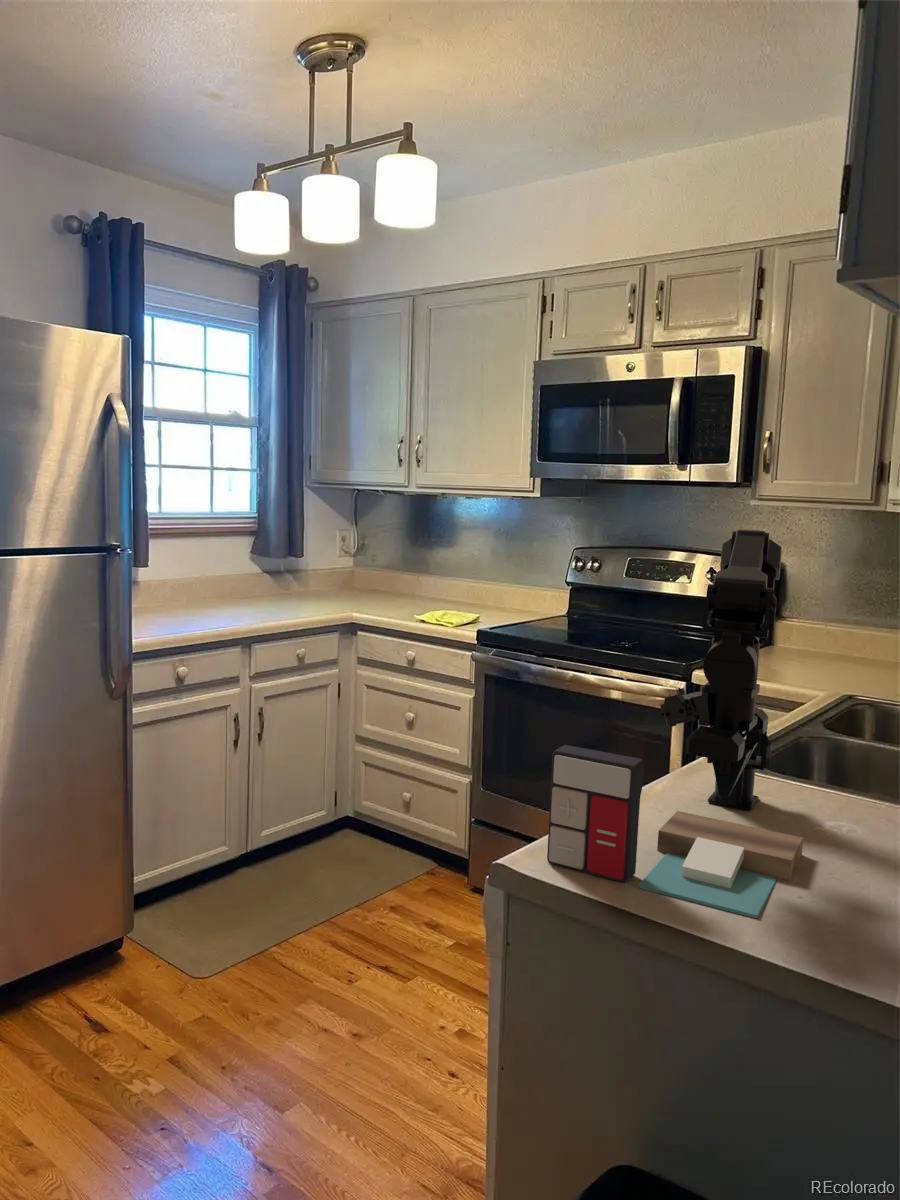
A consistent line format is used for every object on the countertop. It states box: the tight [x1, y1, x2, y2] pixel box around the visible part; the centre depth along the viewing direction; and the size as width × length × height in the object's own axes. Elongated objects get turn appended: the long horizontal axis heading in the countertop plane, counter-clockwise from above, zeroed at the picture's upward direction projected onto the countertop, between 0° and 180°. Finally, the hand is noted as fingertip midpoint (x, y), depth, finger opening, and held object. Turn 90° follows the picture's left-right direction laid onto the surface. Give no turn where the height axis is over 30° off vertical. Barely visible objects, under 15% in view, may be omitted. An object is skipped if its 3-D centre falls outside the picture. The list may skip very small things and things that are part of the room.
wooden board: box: [656, 810, 804, 882], centre depth 120 cm, size 9×17×3 cm, turn 60°
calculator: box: [546, 744, 645, 883], centre depth 113 cm, size 11×4×15 cm, turn 59°
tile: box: [682, 837, 744, 888], centre depth 113 cm, size 7×6×2 cm
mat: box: [638, 852, 778, 919], centre depth 111 cm, size 12×14×1 cm
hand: (724, 796), depth 114 cm, fingers closed
